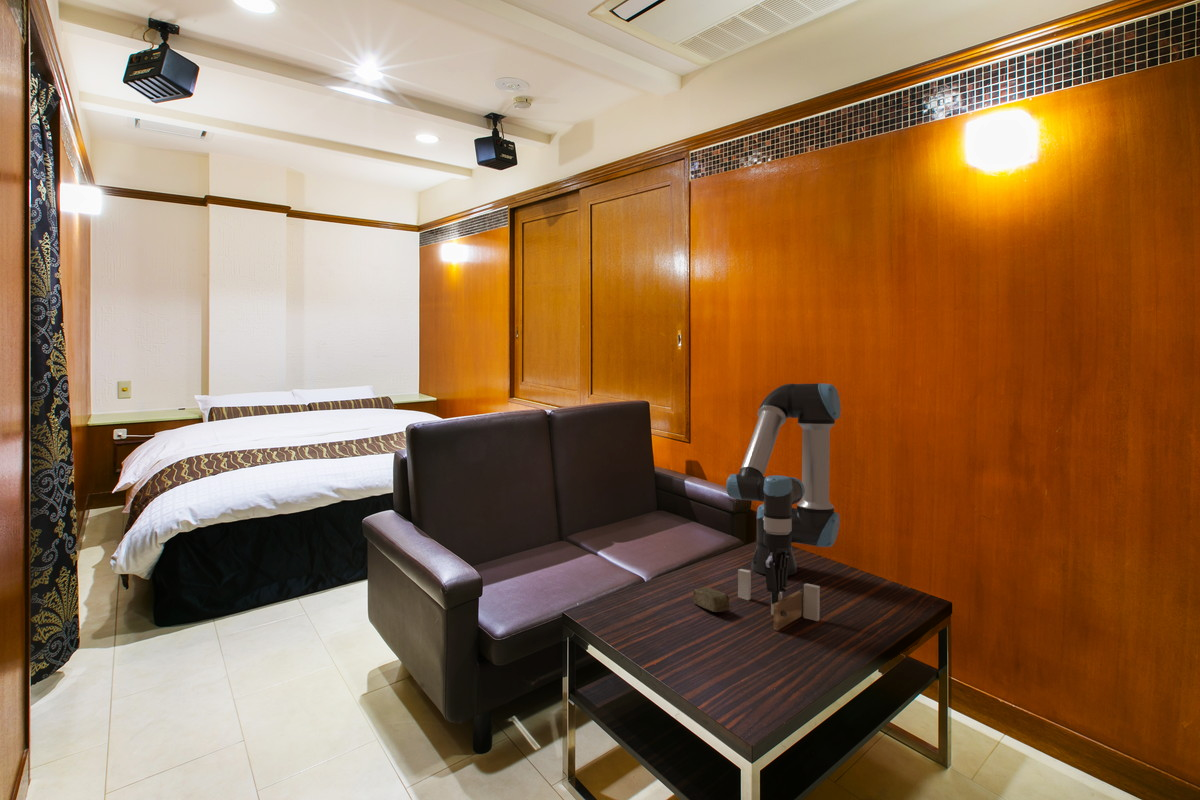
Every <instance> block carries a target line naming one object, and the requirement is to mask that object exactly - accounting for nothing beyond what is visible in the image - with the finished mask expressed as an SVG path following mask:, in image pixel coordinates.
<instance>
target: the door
mask: <svg viewBox="0 0 1200 800" xmlns="http://www.w3.org/2000/svg"><path fill="white" fill-rule="evenodd" d="M801 617H804V589H798V590H797V591H796V592H793V593H792V594H789V595H787V596H785V597H784V598H782V600H780V601H778V602H776V603H775V604H774V615H773V630H774V631H779V630H781V629H783V628H785V627H786V626H788V625H789V624H791V623H793V622H795V621H797V620H798V619H800V618H801Z"/></svg>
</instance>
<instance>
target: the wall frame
mask: <svg viewBox="0 0 1200 800" xmlns="http://www.w3.org/2000/svg"><path fill="white" fill-rule="evenodd" d="M751 574H752V570H749V569H744V568H740V569H738V570H737V597H738V598H739V599H743V600H745V601H750V600H751V598H752V597H751V594H752V593H751V591H752V590H751V589H752V588H751V587H752V586H751V585H752V584H751V582H752V579H751ZM820 590H821V586H820V585H816V584H811V583H803V619H806V620H811V621H815V622H819V621H820V604H821V603H820V597H821V596H820V595H821V594H820V593H821V592H820Z"/></svg>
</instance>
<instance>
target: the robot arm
mask: <svg viewBox="0 0 1200 800" xmlns="http://www.w3.org/2000/svg"><path fill="white" fill-rule="evenodd" d="M760 403H761V404H760V405H759V408H758V410H757V418H758V419H757V422H756V424H755V427H754V430H753V433H752V436H751V438H750V441H749V445H748V447H747V449H746V452H745V455H744V457H743V461H742V463H741V466H740V469H739V472H738V473H735V474H734V473H731V474H729V476H728V477H727V479H726V484H725V485H726V486H725V487H726V488H725V489H726V493H727V495H728V497H730V498H732V499H737V500H740V501H755V502H763V503H762V504H760V505H759V506H758V507H757V511H756V548H755V550H754V553H753V557H752V558H751V559H752V560H751V570H752V571H754V572H756V573H759V574H761V575H765V582H766V583H765V585H766V591H767V592H769V593H770V614H771V615H772V616H774V604H775V603H776V602H778V601H780V600H782V599H783V593H786V592H787V588H786V587H787V582H788V576H793V575H795V574H797V571H798V568H797V566H798V565H797V562H796V558H795V555H794V552H793V549H792V548H793V547H792V544H793V543H794V544H802V545H807V546H814V547H816V548H821V547H822V548H830V547H832V546H834V544H835V542H836V540H837V537H838V533H839V529H840V521H841V519H840V514H839V513H838V512H837V511H835V506H834V505H833V504H832V503H831V501H830V454H831V453H830V451H831V450H830V446H831V445H830V444H831V443H830V440H831V439H830V438H831V437H830V436H831V435H830V434H831V429H832V428H833V427H834V426H835V424H836V420H839V419H840V418H841V414H842V413H841V410H842V405H841V399H840V396H839V391H838V389H837V387H836V386H835V385H834V384H831V383H821V382H819V383H787V384H786V383H785V384H783V385H781V386H778V387H777V388H775V389H773V390H772V391H770V392H769V394H768V395H766V397H765V398H764V399H763V400H762V402H760ZM791 418H792V419H797V425H798V426H800V428H801V429H802V438H801V439H802V440H801V441H802V449H801V451H802V452H801V453H802V455H801V456H802V457H801V458H802V459H801V460H802V461H801V463H802V464H801V467H802V468H801V480H800V479H799V478H797V477H793V476H785V475H777V474H776V475H775V474H774V475H768V476H765V475H766V474H765V473H766V470H767V468H768V466H769V462H770V458H771V456H772V453H773V450H774V448H775V444H776V441H777V438H778V436H779V432H780V429H781V426H783V425H784V424H785V423H786V421H787V419H791ZM795 504H796V507H793V505H795Z"/></svg>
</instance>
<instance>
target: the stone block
mask: <svg viewBox="0 0 1200 800" xmlns="http://www.w3.org/2000/svg"><path fill="white" fill-rule="evenodd" d="M692 601H693V603H694V604H695V605H696V606H699V607H701V608H703V609H705V610H708V611H710V612H713V613H722V612H726V611H729V610H730V598H729V595H728V594H727V593H724V592H722V591H720V590H719V591H718V590H716V589H714V588H711V587H708V586H707V587H706V586H705V587H698V588H694V589H693V597H692Z"/></svg>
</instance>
